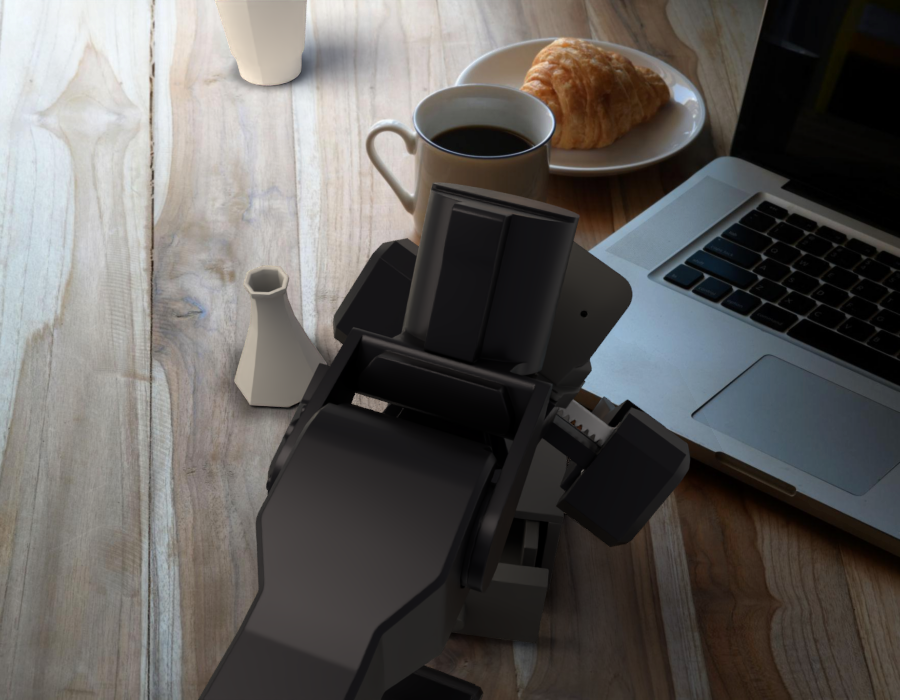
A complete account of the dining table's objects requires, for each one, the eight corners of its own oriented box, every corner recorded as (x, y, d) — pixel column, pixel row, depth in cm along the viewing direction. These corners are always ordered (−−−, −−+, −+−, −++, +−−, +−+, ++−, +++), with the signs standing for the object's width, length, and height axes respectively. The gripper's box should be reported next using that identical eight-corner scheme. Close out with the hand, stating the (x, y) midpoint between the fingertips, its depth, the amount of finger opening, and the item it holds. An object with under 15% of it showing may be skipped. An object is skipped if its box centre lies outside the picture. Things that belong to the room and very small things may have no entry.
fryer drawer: (535, 662, 56) (546, 606, 51) (364, 640, 57) (359, 582, 52) (546, 501, 64) (557, 440, 59) (397, 483, 65) (395, 421, 60)
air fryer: (549, 591, 60) (563, 516, 54) (372, 568, 61) (366, 492, 55) (558, 450, 68) (571, 370, 62) (401, 431, 69) (399, 351, 63)
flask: (240, 418, 70) (219, 323, 62) (229, 350, 74) (208, 254, 67) (335, 400, 71) (326, 305, 64) (319, 335, 76) (308, 239, 69)
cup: (332, 47, 108) (322, -96, 97) (311, 101, 100) (297, -48, 89) (232, 40, 109) (210, -103, 98) (203, 93, 101) (175, -56, 89)
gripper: (769, 416, 37) (757, 344, 51) (395, 147, 39) (486, 151, 54) (602, 613, 40) (636, 492, 55) (268, 355, 42) (386, 306, 57)
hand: (537, 357), depth 55 cm, fingers open, 9 cm apart
